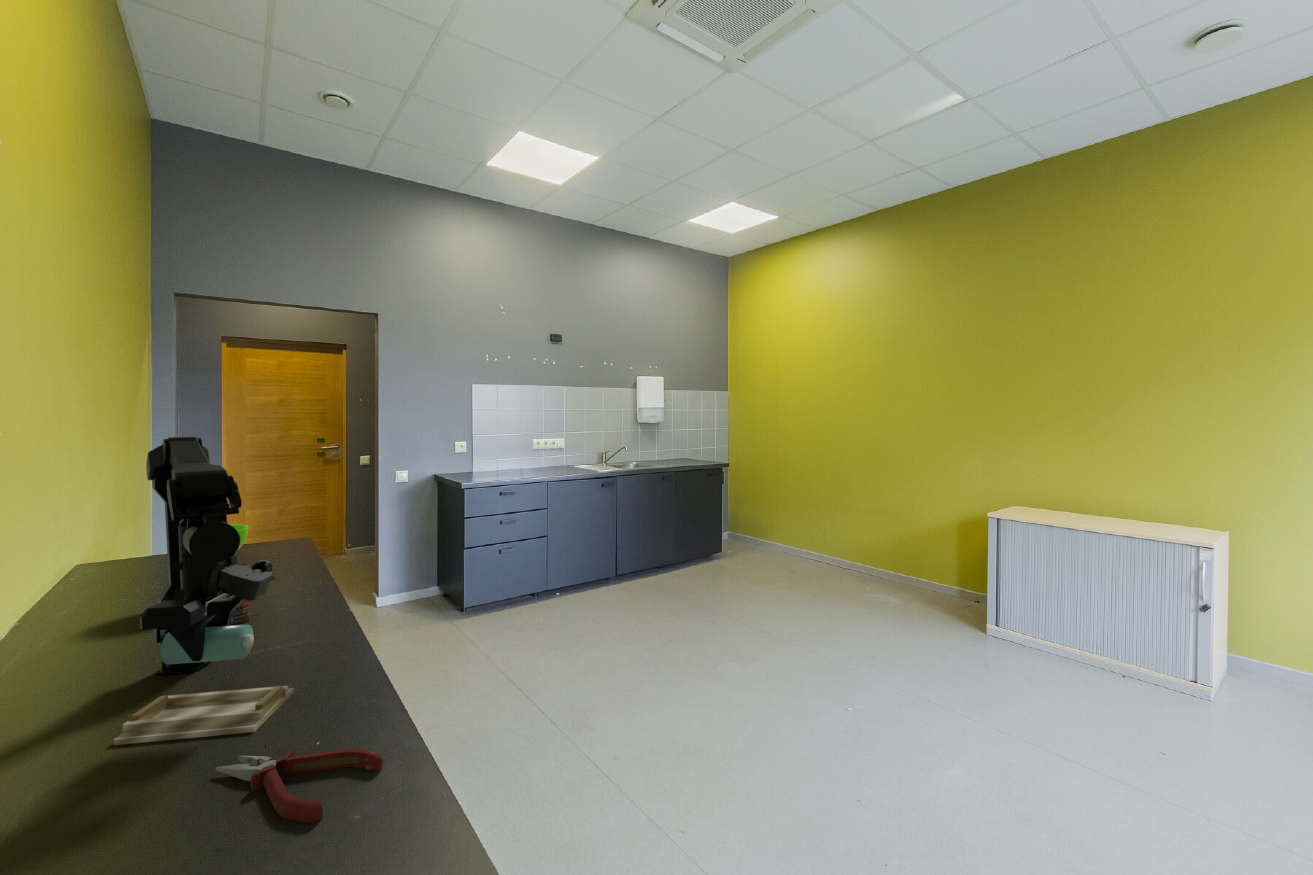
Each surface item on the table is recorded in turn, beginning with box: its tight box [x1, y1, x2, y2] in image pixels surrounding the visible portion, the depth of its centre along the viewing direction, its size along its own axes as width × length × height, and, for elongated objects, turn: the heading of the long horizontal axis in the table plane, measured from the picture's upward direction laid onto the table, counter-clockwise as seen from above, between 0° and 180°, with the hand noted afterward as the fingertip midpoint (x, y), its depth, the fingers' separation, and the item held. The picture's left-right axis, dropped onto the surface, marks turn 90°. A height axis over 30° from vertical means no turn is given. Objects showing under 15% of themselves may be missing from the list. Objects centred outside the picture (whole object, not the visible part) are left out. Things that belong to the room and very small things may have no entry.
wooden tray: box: [113, 685, 295, 746], centre depth 87 cm, size 18×12×3 cm, turn 99°
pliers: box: [214, 748, 384, 824], centre depth 71 cm, size 12×20×3 cm, turn 74°
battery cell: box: [159, 624, 255, 664], centre depth 86 cm, size 11×5×5 cm, turn 99°
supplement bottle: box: [230, 600, 252, 626], centre depth 129 cm, size 6×6×11 cm
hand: (208, 653), depth 86 cm, fingers closed on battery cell, 5 cm apart
